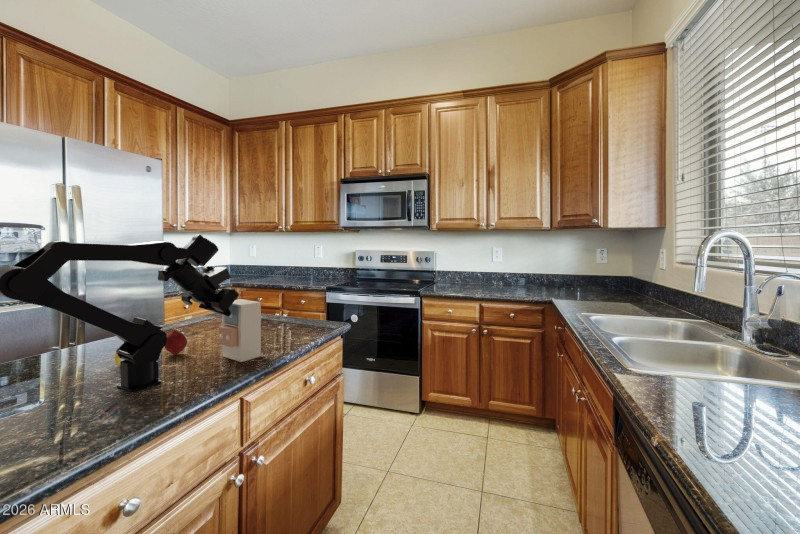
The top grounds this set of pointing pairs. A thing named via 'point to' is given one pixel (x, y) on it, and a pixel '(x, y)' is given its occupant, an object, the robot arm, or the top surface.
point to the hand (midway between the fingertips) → (229, 314)
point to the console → (245, 331)
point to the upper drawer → (232, 315)
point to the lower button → (228, 336)
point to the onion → (175, 342)
